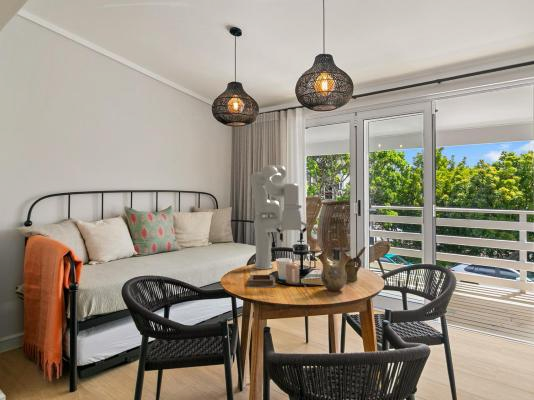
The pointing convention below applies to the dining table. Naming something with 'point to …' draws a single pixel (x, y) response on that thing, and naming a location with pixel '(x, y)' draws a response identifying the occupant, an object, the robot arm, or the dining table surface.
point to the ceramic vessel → (333, 269)
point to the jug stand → (261, 281)
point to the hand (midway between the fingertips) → (291, 241)
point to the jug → (292, 273)
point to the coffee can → (339, 253)
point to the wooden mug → (353, 267)
